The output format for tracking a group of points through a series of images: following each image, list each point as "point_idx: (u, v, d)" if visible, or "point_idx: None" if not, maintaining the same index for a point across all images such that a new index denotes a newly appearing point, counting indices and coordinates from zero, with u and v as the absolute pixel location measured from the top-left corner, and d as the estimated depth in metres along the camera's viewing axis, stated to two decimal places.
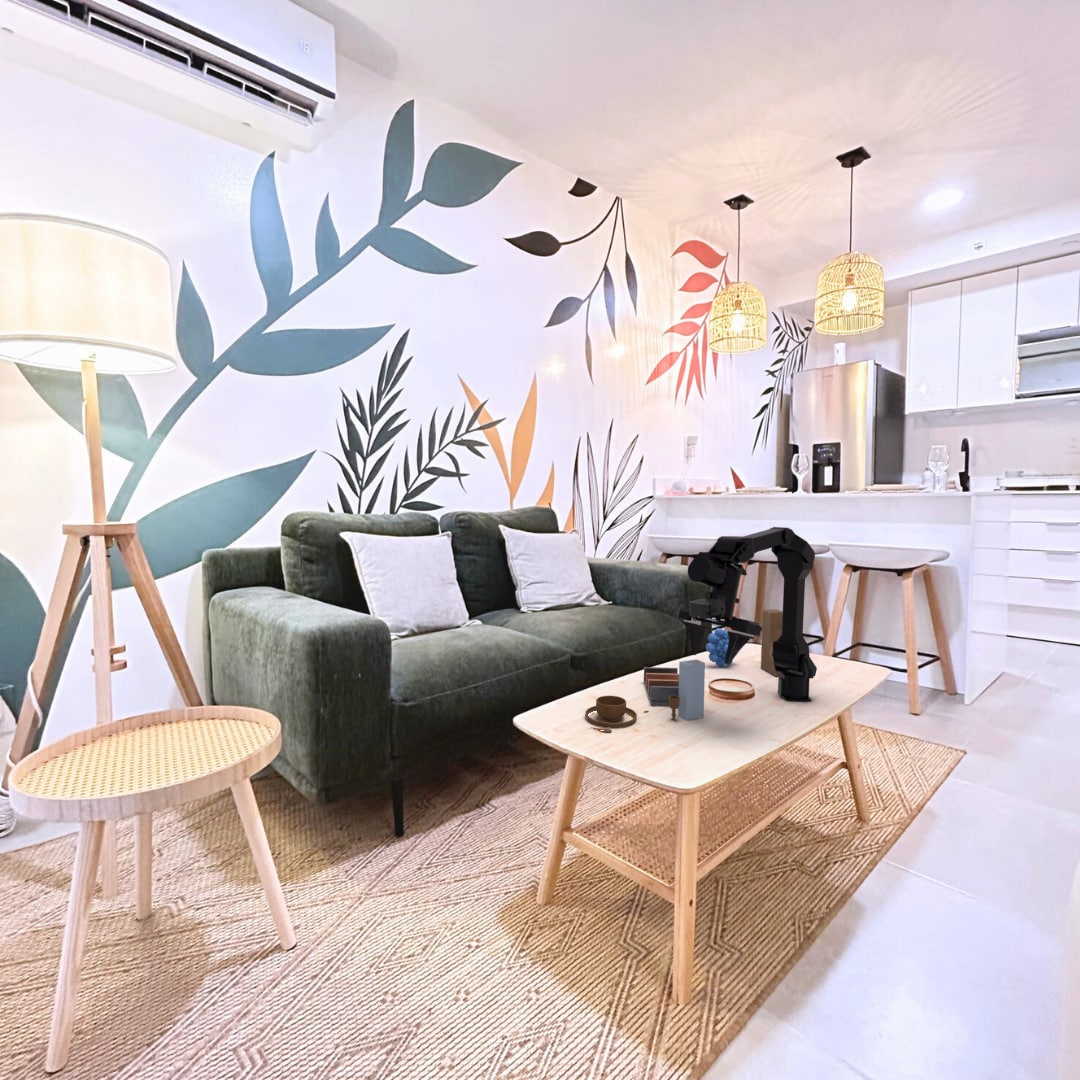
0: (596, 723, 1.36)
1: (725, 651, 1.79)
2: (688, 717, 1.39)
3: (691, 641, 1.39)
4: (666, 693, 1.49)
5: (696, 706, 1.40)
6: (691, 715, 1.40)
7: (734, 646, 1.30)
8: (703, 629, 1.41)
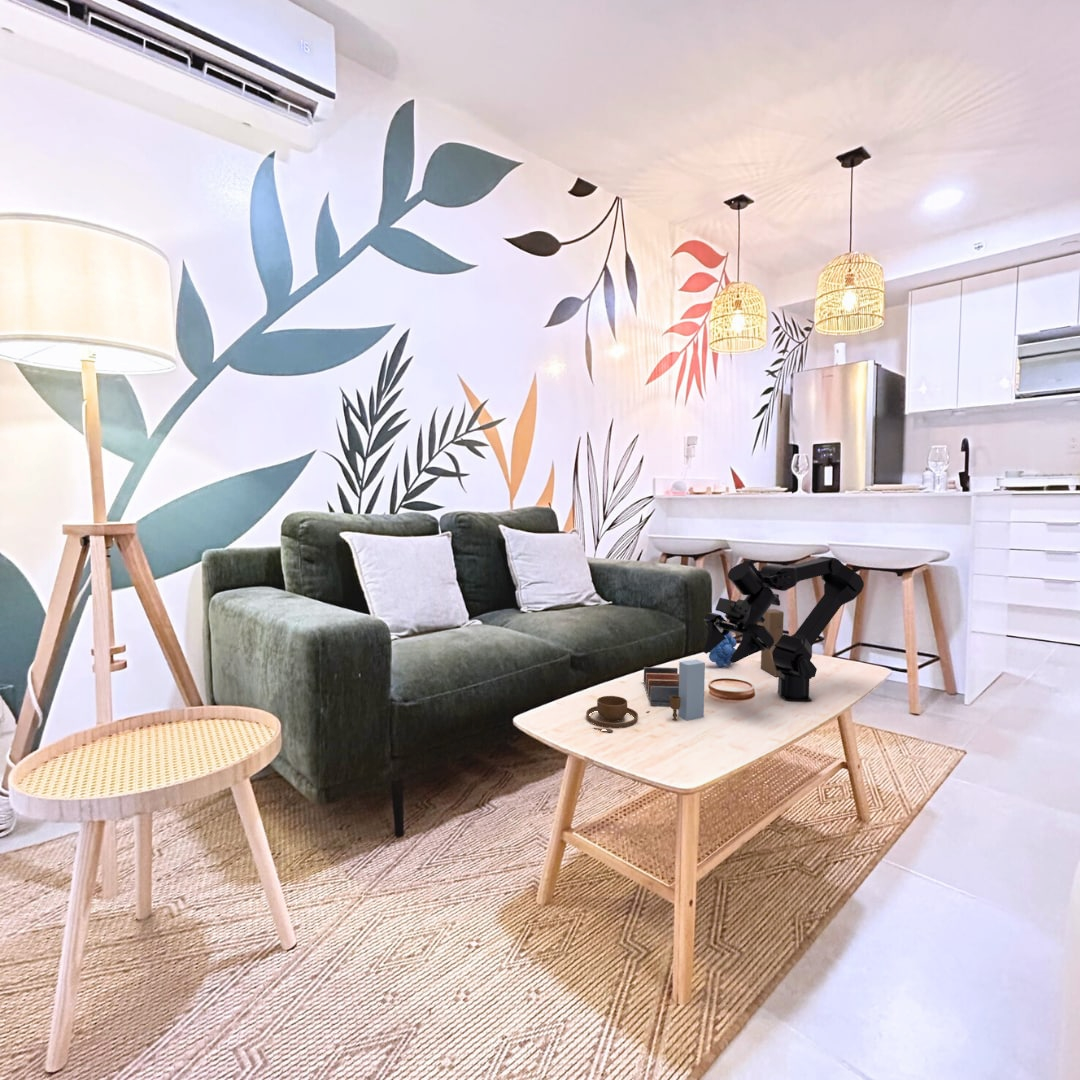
0: (597, 723, 1.36)
1: (725, 651, 1.79)
2: (688, 717, 1.39)
3: (707, 640, 1.49)
4: (666, 693, 1.49)
5: (696, 706, 1.40)
6: (691, 715, 1.40)
7: (744, 648, 1.39)
8: (722, 638, 1.50)
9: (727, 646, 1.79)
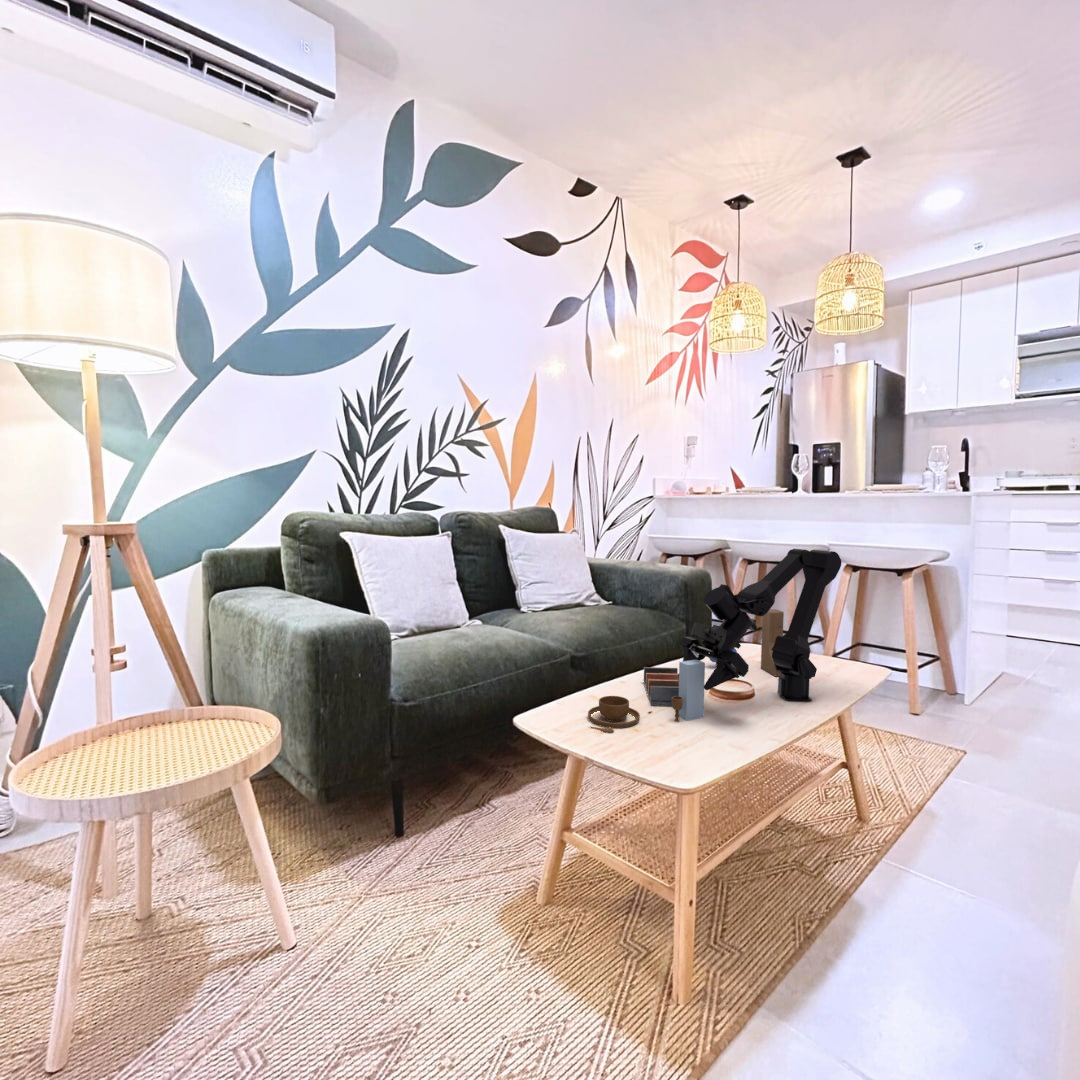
0: (598, 723, 1.36)
1: None
2: (688, 717, 1.39)
3: None
4: (666, 693, 1.49)
5: (696, 706, 1.40)
6: (691, 715, 1.40)
7: (718, 675, 1.36)
8: None
9: None
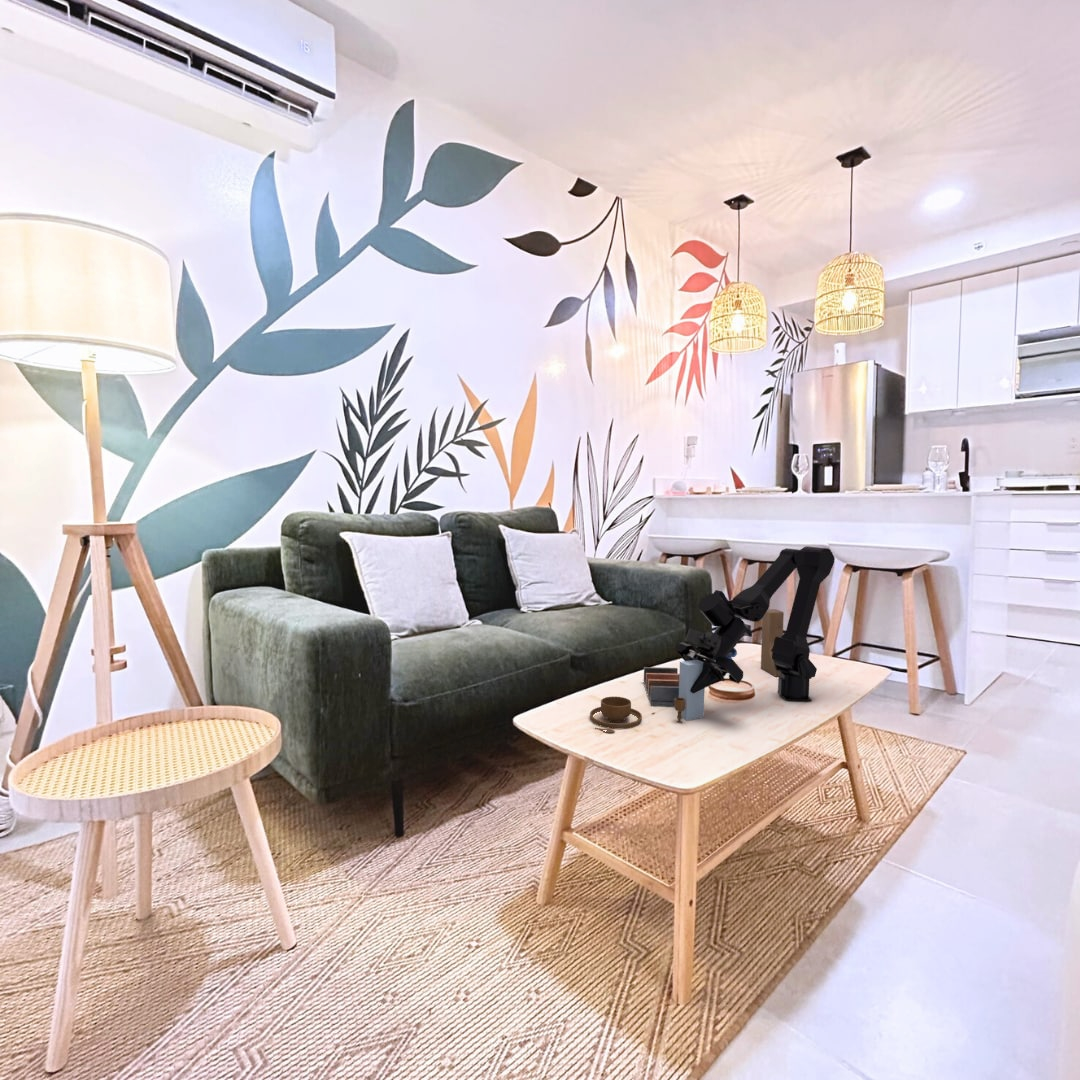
0: (600, 723, 1.35)
1: None
2: (688, 717, 1.39)
3: None
4: (666, 693, 1.49)
5: (696, 706, 1.40)
6: (691, 715, 1.40)
7: (704, 678, 1.39)
8: None
9: None
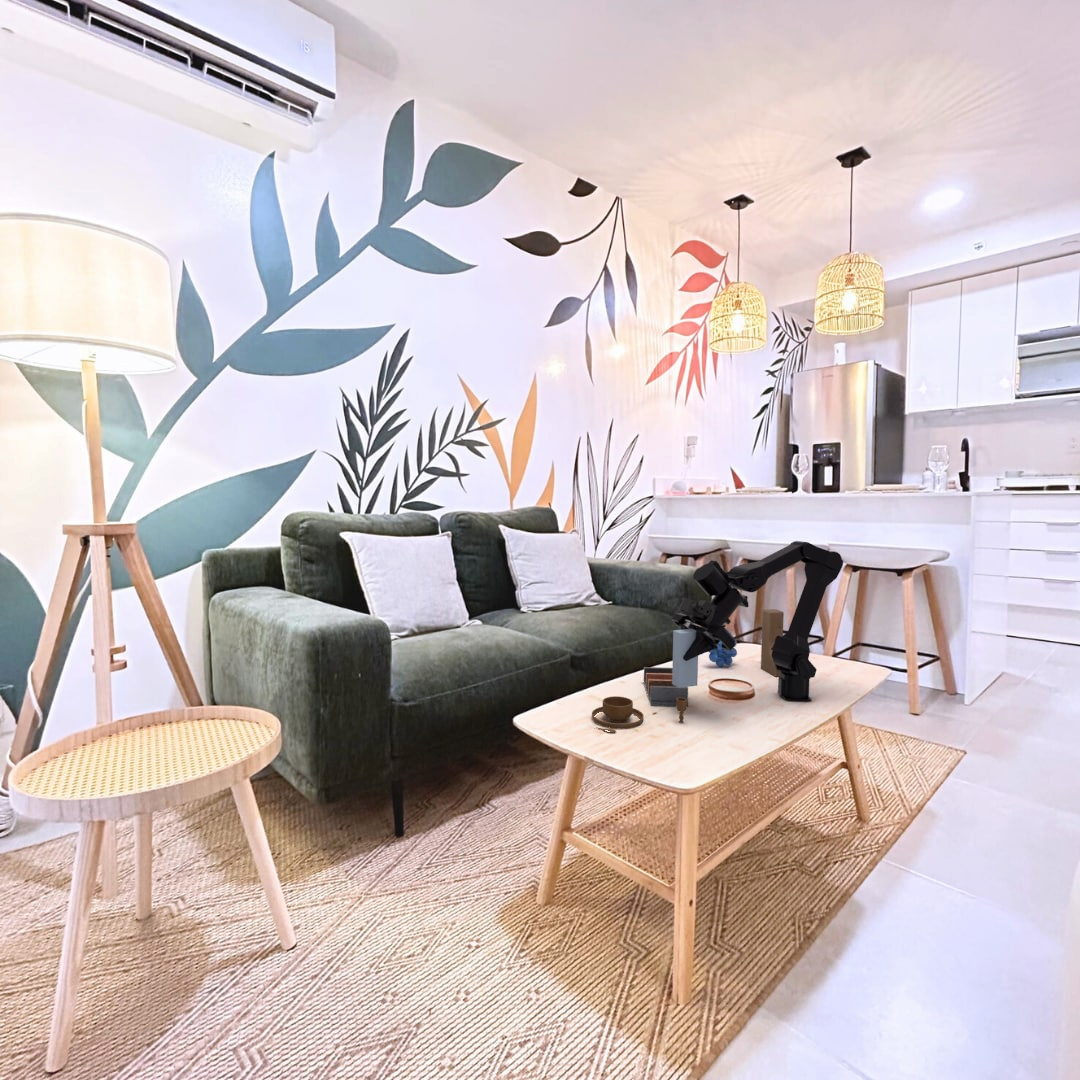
0: (601, 723, 1.36)
1: (725, 651, 1.79)
2: (681, 684, 1.41)
3: None
4: (666, 693, 1.49)
5: (689, 674, 1.42)
6: (684, 682, 1.42)
7: (697, 646, 1.40)
8: None
9: None
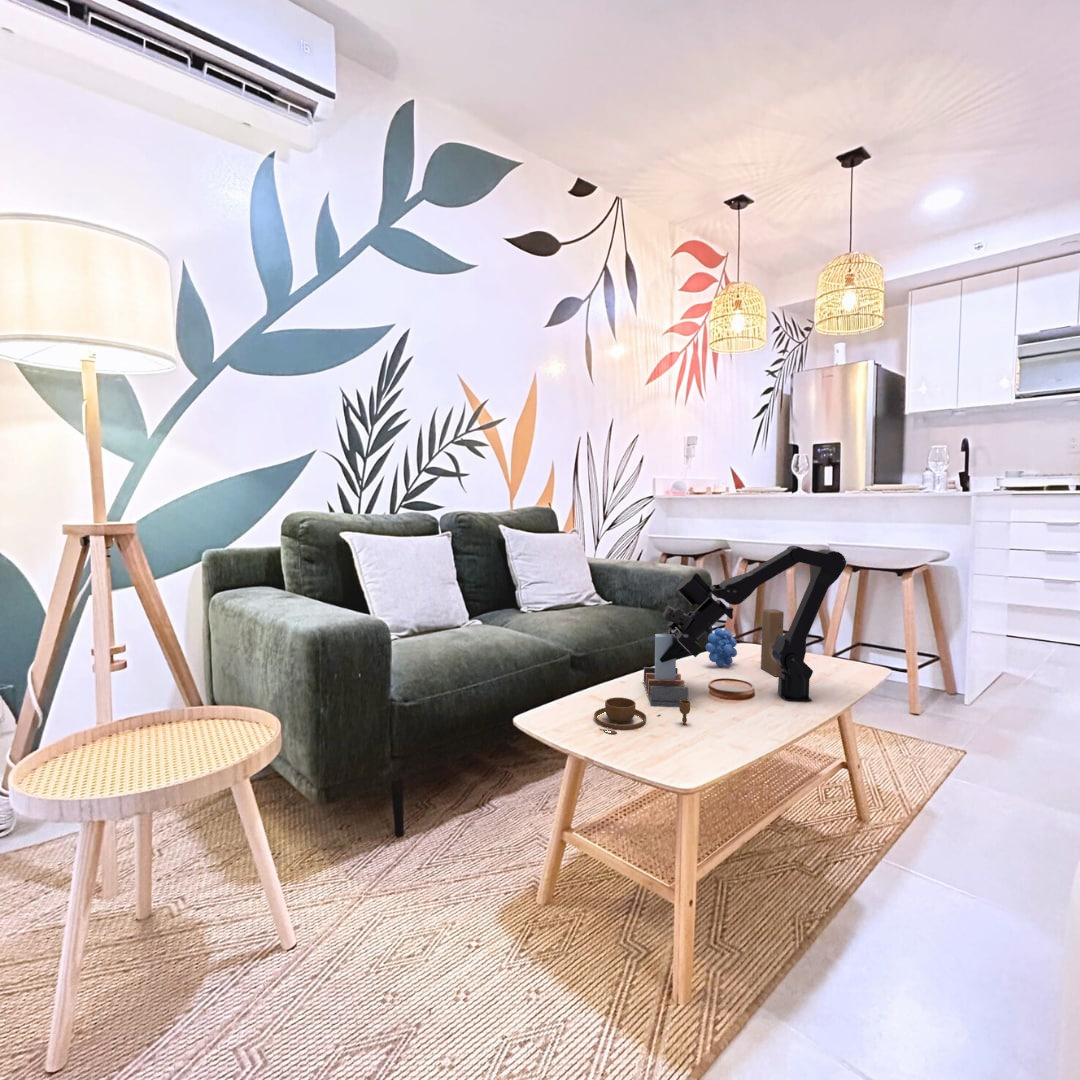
0: (603, 724, 1.35)
1: (725, 651, 1.79)
2: None
3: None
4: (666, 693, 1.49)
5: (667, 675, 1.56)
6: None
7: (671, 650, 1.54)
8: None
9: (727, 646, 1.79)
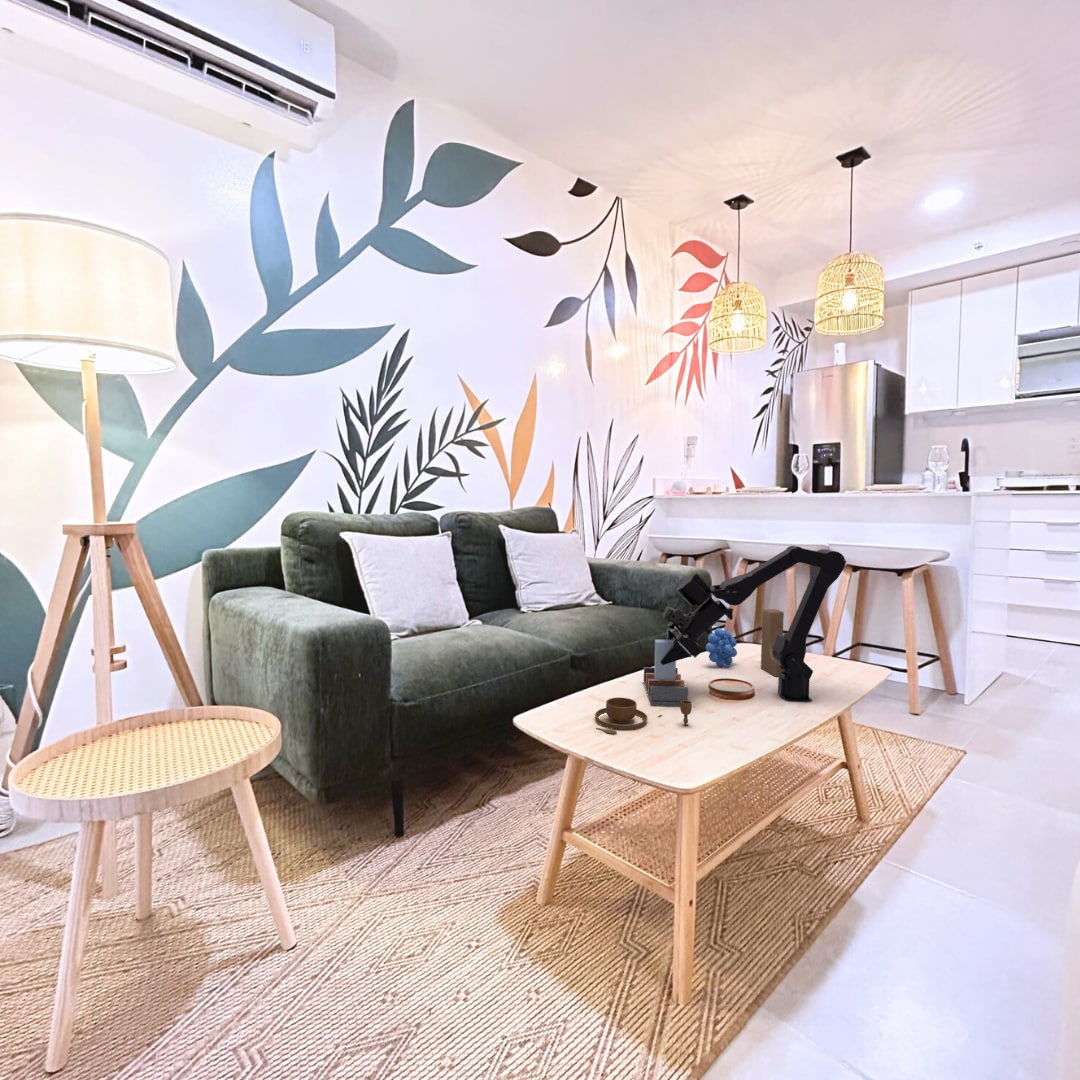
0: (603, 724, 1.35)
1: (725, 651, 1.79)
2: None
3: None
4: (666, 693, 1.49)
5: None
6: None
7: (672, 652, 1.52)
8: None
9: (727, 646, 1.79)
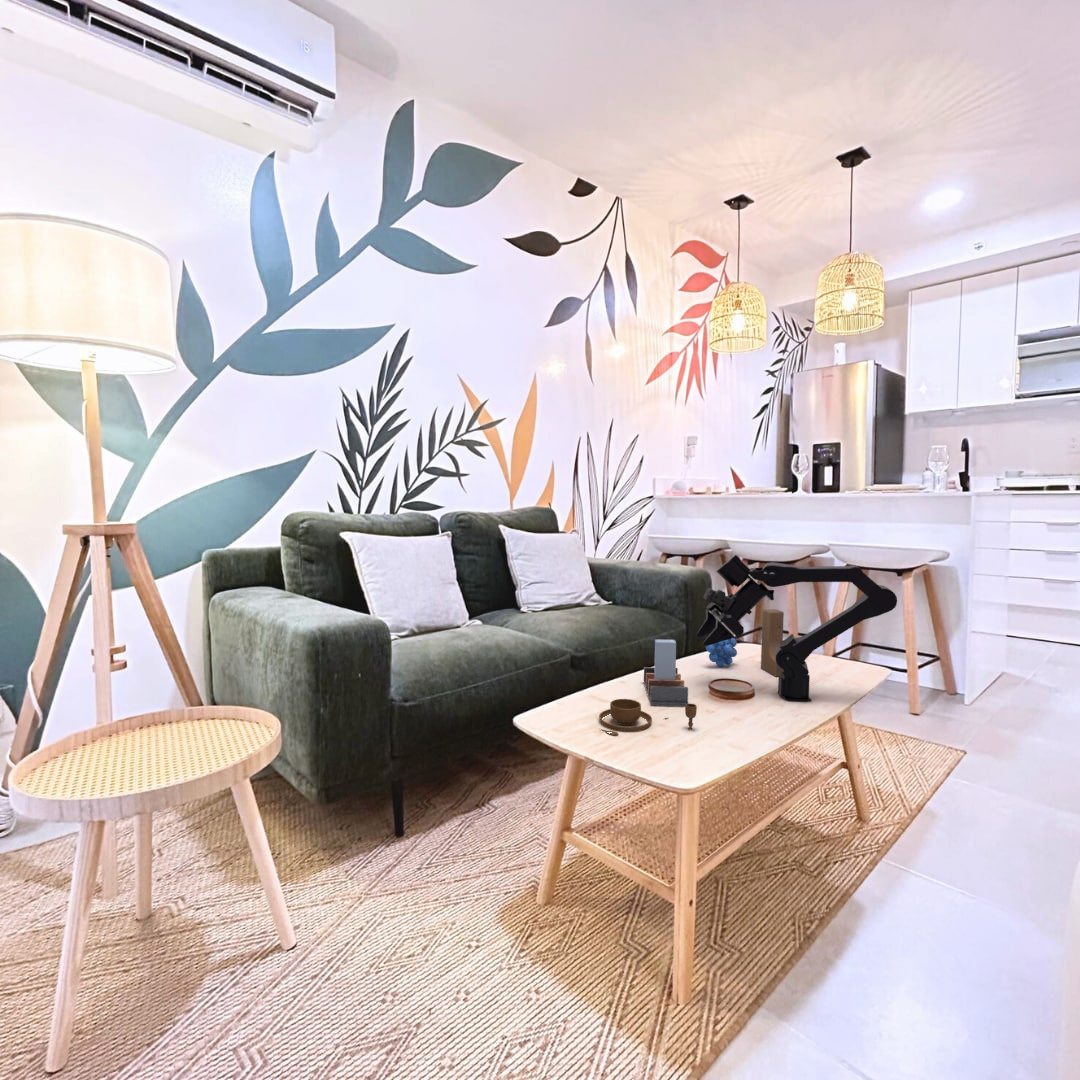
0: (606, 725, 1.35)
1: (725, 651, 1.79)
2: None
3: (701, 626, 1.64)
4: (666, 693, 1.49)
5: None
6: None
7: (715, 634, 1.53)
8: None
9: (727, 646, 1.79)
